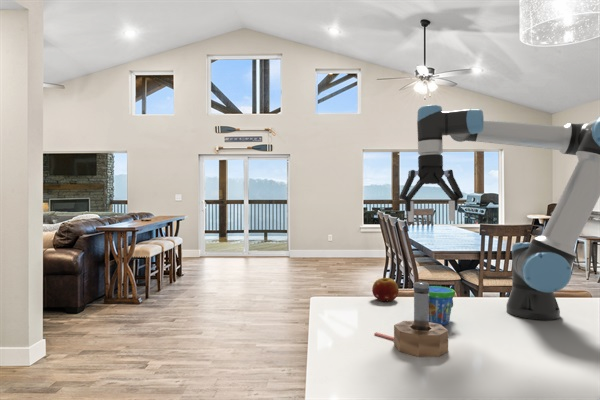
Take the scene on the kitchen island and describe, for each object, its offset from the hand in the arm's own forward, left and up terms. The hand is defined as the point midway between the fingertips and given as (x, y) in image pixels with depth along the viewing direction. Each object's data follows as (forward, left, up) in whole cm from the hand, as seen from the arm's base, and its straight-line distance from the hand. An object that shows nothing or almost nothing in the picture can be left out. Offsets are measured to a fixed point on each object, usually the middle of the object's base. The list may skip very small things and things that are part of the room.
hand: (431, 221), depth 132 cm
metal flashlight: (+13, +28, -30) cm, 43 cm away
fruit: (+9, -22, -30) cm, 39 cm away
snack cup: (+1, +7, -30) cm, 31 cm away
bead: (+13, +28, -30) cm, 43 cm away
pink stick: (+18, +22, -30) cm, 41 cm away
